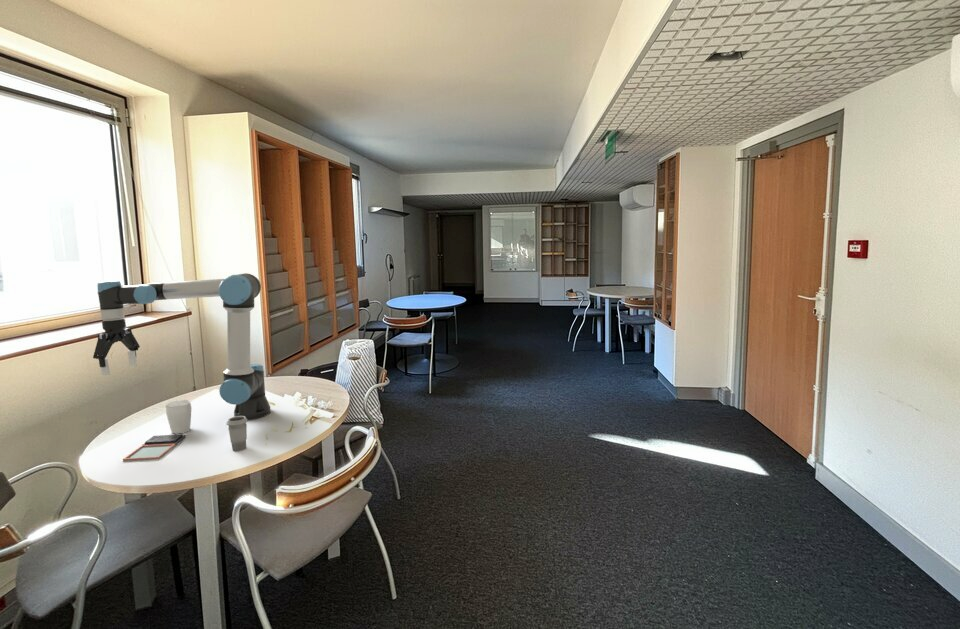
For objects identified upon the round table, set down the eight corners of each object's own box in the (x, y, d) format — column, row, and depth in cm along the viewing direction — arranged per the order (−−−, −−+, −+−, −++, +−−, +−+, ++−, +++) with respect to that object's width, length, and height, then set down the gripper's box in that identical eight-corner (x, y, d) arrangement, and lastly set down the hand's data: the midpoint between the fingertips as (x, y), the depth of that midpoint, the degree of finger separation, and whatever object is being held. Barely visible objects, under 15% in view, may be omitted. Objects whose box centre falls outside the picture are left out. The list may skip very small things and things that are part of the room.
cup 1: (181, 435, 194) (178, 407, 193) (162, 434, 196) (159, 406, 194) (198, 427, 203) (195, 400, 201) (180, 426, 205) (177, 399, 203)
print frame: (175, 445, 185) (175, 443, 185) (159, 459, 173) (158, 457, 173) (142, 447, 183) (142, 445, 183) (123, 461, 171) (122, 459, 171)
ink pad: (185, 438, 192) (185, 433, 192) (176, 445, 185) (175, 441, 185) (153, 439, 191) (152, 435, 191) (142, 447, 183) (142, 443, 183)
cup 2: (235, 454, 177) (232, 423, 175) (225, 450, 181) (222, 419, 179) (253, 447, 183) (251, 417, 181) (243, 443, 187) (240, 414, 185)
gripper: (129, 314, 206) (135, 362, 209) (76, 324, 181) (84, 378, 184) (145, 314, 205) (151, 362, 208) (94, 324, 181) (102, 378, 184)
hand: (120, 370), depth 196 cm, fingers open, 13 cm apart
